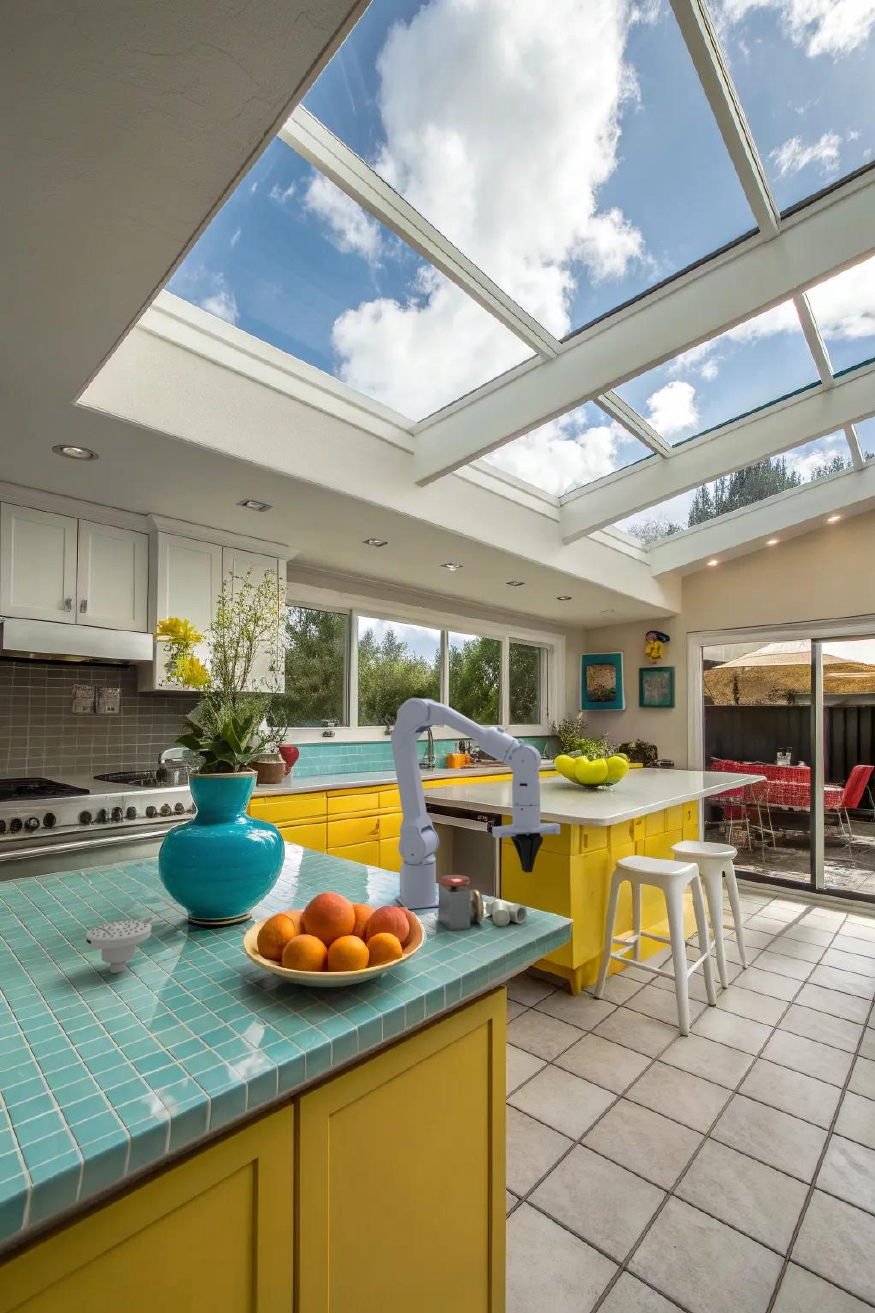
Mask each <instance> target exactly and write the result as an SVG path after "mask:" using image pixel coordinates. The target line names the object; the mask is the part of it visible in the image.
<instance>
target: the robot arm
mask: <svg viewBox="0 0 875 1313" xmlns="http://www.w3.org/2000/svg"><path fill="white" fill-rule="evenodd" d="M396 715H397V716H396V719H395V723H394V726H393V729H392V733H391V736H390V743H391V748H392V756H393V761H394V767H395V775H396V781H397V788H398V794H399V799H400V800H399V801H400V806H401V813H402V820H401V824H400V827H399V833H400V839H399V841H398V845H397V846H398V847H397V848H398V854H399V855H400V857H401V859H402V863H401V865H400V868H399V894H398V895H395V899H396V900H397V902H399V903H400V905H402V906H403V908H405V907H407V908H408V909H407V910H413V909H414V910H415V909H423V908H426V909H427V908H435V907H439V899H438V898H437V892H436V891H437V887H436V886H437V877H436V876H437V874H436V873H437V872H436V871H437V867H436V866H437V863H436V860H437V859H436V856H435V852H436V851H437V850H438V848H439V845H440V839H439V834H438V833H437V832H436V830H435V829H434V826H433V825H434V824H433V821H432V818H431V817H430V816H429V814H428V812H427V806H426V800H425V795H424V794H425V793H424V787H423V781H422V775H421V769H420V763H419V762H420V761H419V755H418V750H417V744H416V743H417V742H418V740H419V739H420V738H421V737H422V735H423V734H424V733H425V731H427V730H429V729H430V728H431V727H433V726H435V725H437V726H438V725H440V726H444V725H445V726H447V727H448V728H451V729H453V730H455V731H457V732H458V733H461V734H462V735H465V736H466V737H468V738H469V739H473V740H474V741H476V742H477V743H478V747H479V749H480V751H482V752H483V753H485V754H487V755H489V756H491V757H493V758H494V759H496V760H497V761H499V762H501V763H503V764H505V765H509V767H510V770H512V782H511V790H512V791H511V792H512V797H511V800H512V803H511V804H512V824H507V825H506V824H505V825H500V826H499V825H498V826H492V829H491V830H492V838H494V839H501V838H509V837H510V839H511V842H512V843H513V846H514V847H515V849H516V852H517V855H518V858H519V861H520V865H521V870H522V872H524V873H527V874H528V873H533V870H534V865H535V861H536V859H537V858H536V857H537V854H538V852H539V851H540V847H541V846H542V844H543V841H544V837H543V836H541V835H552V834H553V835H554V834H555V835H560V834H561V824H559V823H557V822H554V823H552V822H551V823H547V822H545V823H541V782H540V769H539V768H540V766H541V764H542V756H541V753H540V751H539V749H537V747H534V745H532V744H529V743H528V744H524V742H525V740H524V739H521V738H519V739H517V738H515V737H513V736H511V735H510V734H508V733H506V732H505V728H503V727H501V726H497V727H495V726H490V727H487V728H485V727H483V726H482V725H480V724H478V723H476V722H475V721H473V720H472V719H470V718H468V717H466V716H465V715H463V714H462V713H460V712H459V711H457V710H455V709H453V708H452V707H450V706H448V705H446V704H444V703H440V702H437V701H436V700H434V699H431V698H418V697H411V698H408V699H407V700H405V701H404V702H403V703H402V705H401V706H400V707H399V708H398V709H397V711H396Z"/></svg>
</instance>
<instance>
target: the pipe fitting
mask: <svg viewBox="0 0 875 1313" xmlns="http://www.w3.org/2000/svg"><path fill="white" fill-rule="evenodd" d="M485 911H486V914H488V915H489V916H492V921H493V923H494V925H496V926H497V927H498V926H499V927H506V926H508V924H510V921H511V922H513V923H516V924H519V925H522V924H524V923H525V922H526V919H527V916H528V909H527V906H526V905H523V904H520V903H517V902H511V901H507V900H503V899H501V898H498V897H494V896H490V897H489V898H488V900H486V903H485Z"/></svg>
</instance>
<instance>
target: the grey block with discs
mask: <svg viewBox="0 0 875 1313" xmlns="http://www.w3.org/2000/svg"><path fill="white" fill-rule="evenodd" d="M469 884H470V877H468V876H467V875H460V874H446V875H442V876H439V877H438V901H439V906H438V920H439V921H440V923H442V924H443V926H445V927H446V928H447V929H448V930H449V931H459V930H461V931H462V930H467V929H471V924H472V923H481V922H482V921H483V919H484V914H485V913H484V912H485V911H484V909H485V908H484V901H483V900H484V899H483V897H482V893H481V892H480V890H478V889H470V890H469V888H467V887H466V886H468V885H469Z"/></svg>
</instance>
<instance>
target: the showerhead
mask: <svg viewBox="0 0 875 1313" xmlns="http://www.w3.org/2000/svg"><path fill="white" fill-rule="evenodd" d="M152 920H153V917H152V916H148V917H146V918H144V919H143V920H140V919H138V920H135V919H131V920H128V919H125V920H121V921H120V920H116V921H114V922H112V921H109V922H108V923H102V924H101V925H96V926H95V927H94V928H92V929H90V930H88V931H87V932H86V935H85V937H86V938H85V943H86V945H87V947H90V948H94V949H101V961H102V962H105V963H107V964H110V973H112V974H114V973H116V974H117V973H121V972H124V971H126V966H127V964H126V961H129V960H131V959H132V958H134V956H135V954H136V944H139V943H142V942H144V941H146V940H148V939H149V938H150V937H151V935H152V925H151V924H150V922H152Z"/></svg>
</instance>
